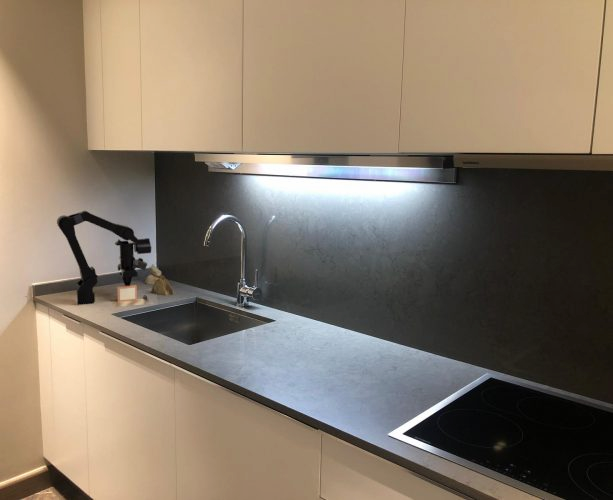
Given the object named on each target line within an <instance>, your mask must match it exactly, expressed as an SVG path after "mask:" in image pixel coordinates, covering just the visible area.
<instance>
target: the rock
mask: <svg viewBox="0 0 613 500" xmlns="http://www.w3.org/2000/svg"><path fill="white" fill-rule="evenodd" d="M174 291H175V290H174V289H173V287H172V286H171V284H170V282H169V281H168V280H167V278H166V277H165V275H161V276H160V278H159V279H158V280H157V281H156V282H155V283H154V284H152V287H151V293H152V294H158V295H163V296H172V295H175V292H174Z"/></svg>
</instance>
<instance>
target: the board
mask: <svg viewBox="0 0 613 500" xmlns="http://www.w3.org/2000/svg"><path fill="white" fill-rule="evenodd" d="M147 298H148V299H149V300H151V299H150V297H147ZM144 300H145V298H144V297H143V298H137V300H135V301H124V302H118V300H112V301H111V304H112V305H113V307H114V308H118V307H119V308H120V307H129V306H139V305H140V306H143V305H147V304H146V303H145V302H144ZM150 305H153V302H152V303H151V304H150Z"/></svg>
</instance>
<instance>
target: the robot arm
mask: <svg viewBox="0 0 613 500" xmlns="http://www.w3.org/2000/svg"><path fill="white" fill-rule="evenodd" d="M84 222H88V223H90V224H93V225H95V226H97V227H100V228H102V229H105V230H107V231H109V232H111V233H112V234H114V235H117V236H118V237H120V238H121V239H123V240H121V239H118V240H117V241H116V242H114V245H116V246H119V260H120V262H119V264H117V271H118V272H119V271H121V272H119V275H120V277H121V280H122V282H123V284H124V286H131V285H132V284H131V282H132V279H133V278H137V277H138V276H139V273H138V271H137V270H136V269H139V270H142V271H146V269H147V266H148V263H147V262H145V261H144V259H143V258H142V257H138V258H137V259H136V258H135V256H134V254H135V253H136V254H137V255H142V254H151V252H152V245H151V241H150V238H148V237H147V238H146V237H145V238H137V237H136V236H135V231H134V230H133V228H131V227H129V226H127V225H124V224H121V223H115V222H112V221H110V220H107V219H105V218H103V217H100V216H97V215H95V214H93V213H90V212H89V211H87V210H82V211H79V212H76V213H73V214H70V215H66V214H65V215H60V216H59V217H58V218H57V220H56V224H57V226H58V228H59V229H60V231H61V233H62V234H63V235H64V236H65V238H66V241H67V243H68V245H69V247H70V249H71V252H72V254H73V256H74V259H75V261H76V263H77V265H78V269H79V276H80V279H79V280H78V282H77V283H76V287H77V289H76V298H77V299H76V300H77V301H76V304H77V306H78V307H79V306H82V305H83V306H84V305H92V304H93V305H94V304H95V302H96V301H95V300H96V296H95V291H94V290H93V289H94V288H95V286H96V285H97V283H98V278H99V275H98V274H97V273H96V269H95V267H93V266H89V264H88V261H87V259H86V257H85V254H84V252H83V249H82V247H81V245H80V243H79V240H78V239H77V235H76V230H75V226H77V225H79V224H82V223H84ZM129 241H131V242H129Z"/></svg>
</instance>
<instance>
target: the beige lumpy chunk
mask: <svg viewBox="0 0 613 500" xmlns="http://www.w3.org/2000/svg"><path fill="white" fill-rule="evenodd" d="M149 270H150V274H149V275H148V276H147V277H146V278H145V280H144V284H147V285H154V283H155V282H156V281H157V280H158V279H159V278H160V277H161V275H162V274H163V273H162V270H160V269H158V268H157V266H156V265H155V264H151V265H150V266H149Z"/></svg>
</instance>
